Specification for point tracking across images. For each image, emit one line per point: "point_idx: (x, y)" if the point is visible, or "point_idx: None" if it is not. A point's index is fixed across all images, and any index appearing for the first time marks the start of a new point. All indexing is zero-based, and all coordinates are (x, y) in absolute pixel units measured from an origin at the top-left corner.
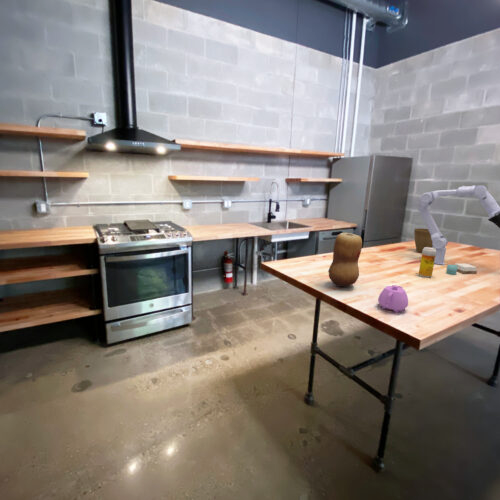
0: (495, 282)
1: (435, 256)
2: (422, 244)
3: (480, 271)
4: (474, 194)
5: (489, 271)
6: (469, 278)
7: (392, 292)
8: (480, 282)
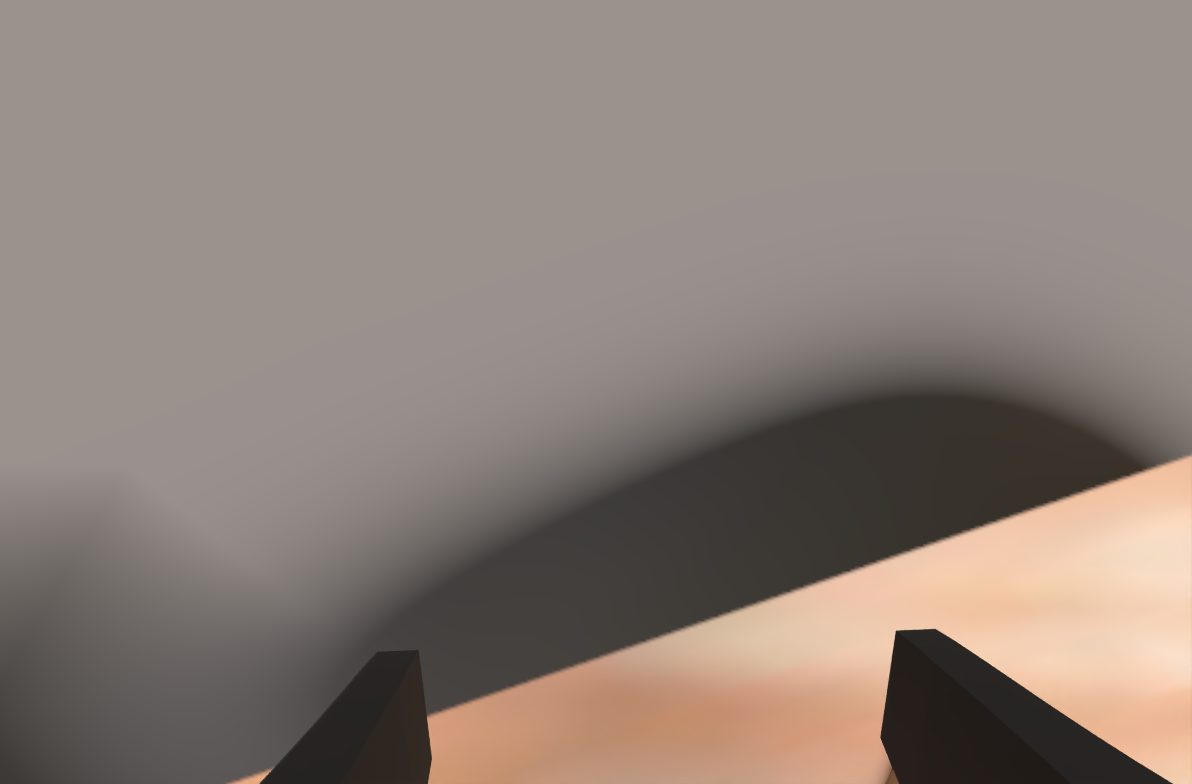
0: (1014, 516)
1: None
2: None
3: (737, 760)
4: None
5: (641, 701)
6: (1163, 717)
7: None
8: (1179, 593)
